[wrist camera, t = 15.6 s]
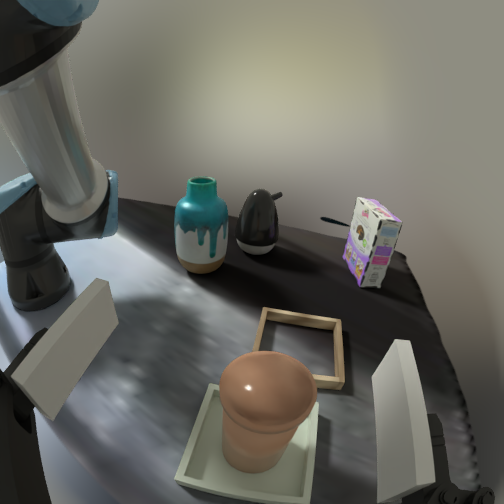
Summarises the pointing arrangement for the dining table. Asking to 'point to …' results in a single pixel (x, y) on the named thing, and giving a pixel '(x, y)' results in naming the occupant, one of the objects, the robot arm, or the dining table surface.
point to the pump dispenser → (258, 223)
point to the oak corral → (314, 322)
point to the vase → (201, 226)
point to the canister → (263, 408)
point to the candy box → (371, 242)
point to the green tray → (240, 483)
